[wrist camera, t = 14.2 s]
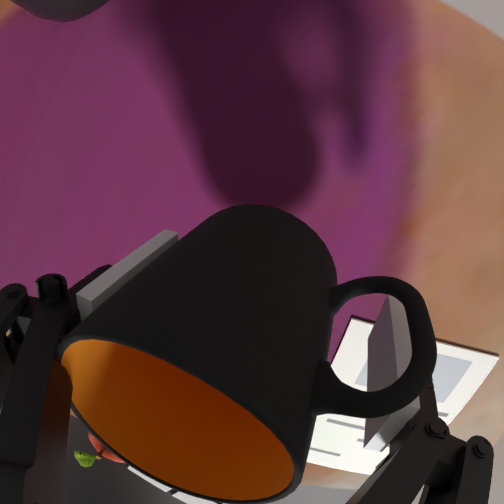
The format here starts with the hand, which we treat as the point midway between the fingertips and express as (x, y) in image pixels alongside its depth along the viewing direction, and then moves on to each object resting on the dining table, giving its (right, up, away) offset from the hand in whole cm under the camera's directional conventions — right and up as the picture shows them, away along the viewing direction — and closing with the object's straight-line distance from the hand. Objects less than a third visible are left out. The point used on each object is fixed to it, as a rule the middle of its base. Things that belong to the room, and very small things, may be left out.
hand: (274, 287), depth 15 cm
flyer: (+11, -14, +10) cm, 20 cm away
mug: (+1, +1, +1) cm, 2 cm away
